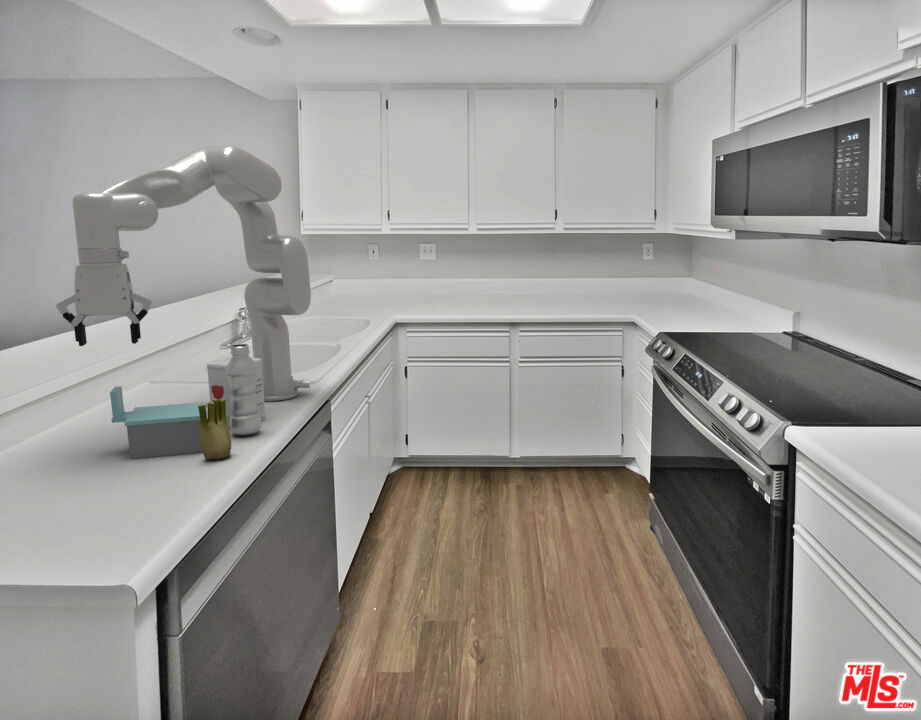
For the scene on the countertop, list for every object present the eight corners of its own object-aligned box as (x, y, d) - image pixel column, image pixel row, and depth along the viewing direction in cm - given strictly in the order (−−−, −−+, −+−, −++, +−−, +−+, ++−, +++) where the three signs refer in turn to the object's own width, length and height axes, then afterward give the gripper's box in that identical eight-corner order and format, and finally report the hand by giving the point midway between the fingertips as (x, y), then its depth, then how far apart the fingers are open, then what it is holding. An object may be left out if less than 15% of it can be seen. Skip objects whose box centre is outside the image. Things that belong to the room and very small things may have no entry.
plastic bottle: (229, 432, 162) (221, 344, 158) (260, 428, 164) (253, 341, 160) (232, 440, 156) (224, 349, 152) (264, 436, 158) (257, 346, 154)
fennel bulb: (203, 463, 141) (197, 404, 139) (201, 456, 146) (195, 398, 143) (234, 459, 143) (229, 401, 141) (231, 452, 148) (226, 395, 146)
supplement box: (210, 426, 166) (204, 363, 164) (235, 416, 175) (230, 355, 172) (243, 430, 163) (238, 365, 160) (267, 419, 172) (262, 357, 169)
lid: (207, 409, 158) (204, 377, 156) (202, 423, 147) (199, 389, 145) (120, 415, 154) (117, 383, 152) (108, 431, 143) (104, 396, 141)
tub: (208, 436, 159) (205, 406, 157) (203, 452, 148) (200, 419, 147) (140, 442, 155) (136, 411, 154) (130, 458, 145) (126, 425, 143)
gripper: (150, 256, 147) (158, 338, 150) (57, 258, 143) (67, 343, 146) (144, 257, 140) (152, 344, 143) (45, 259, 136) (56, 349, 139)
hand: (109, 343), depth 145 cm, fingers open, 9 cm apart
